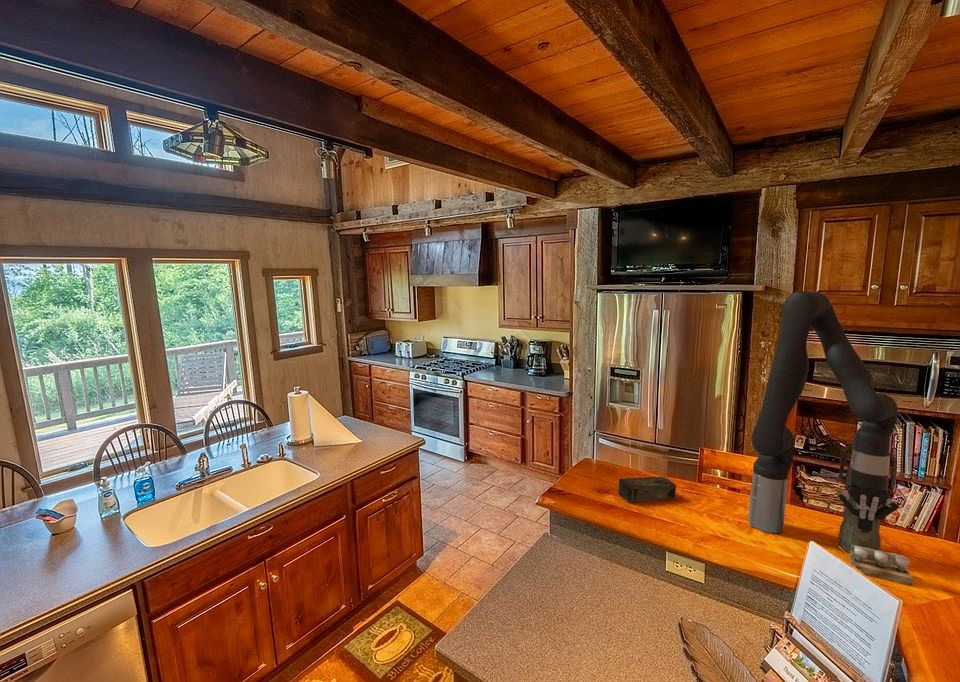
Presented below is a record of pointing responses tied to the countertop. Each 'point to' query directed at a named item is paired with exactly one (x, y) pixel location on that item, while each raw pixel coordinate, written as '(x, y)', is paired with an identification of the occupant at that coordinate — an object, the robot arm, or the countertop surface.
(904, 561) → the button right
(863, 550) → the button left
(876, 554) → the button middle
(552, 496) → the countertop surface
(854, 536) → the thermos
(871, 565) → the button board
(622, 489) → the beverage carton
